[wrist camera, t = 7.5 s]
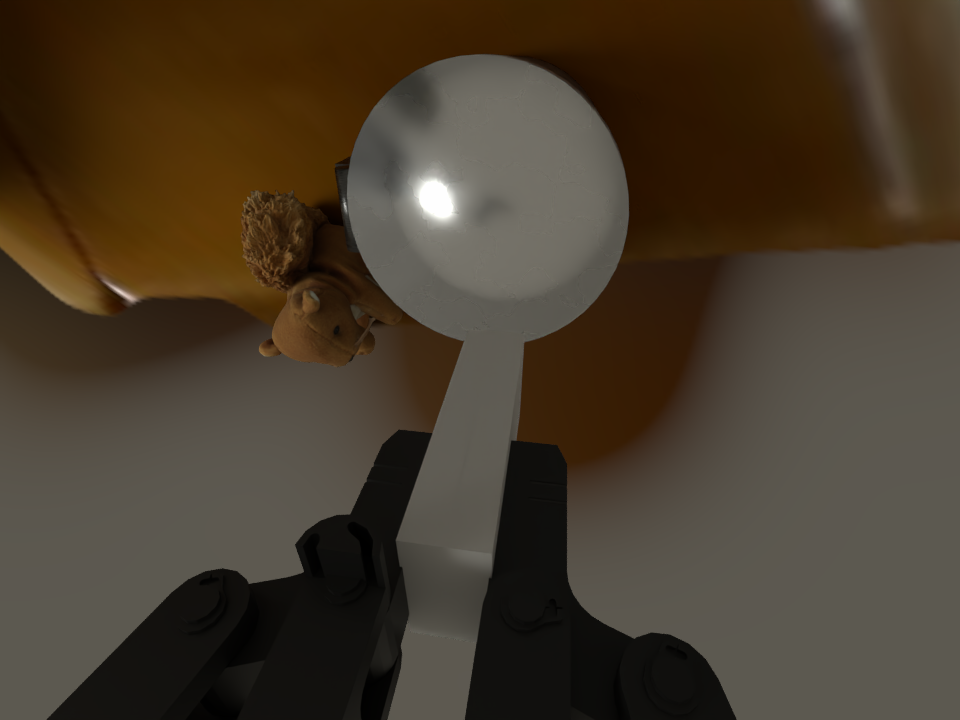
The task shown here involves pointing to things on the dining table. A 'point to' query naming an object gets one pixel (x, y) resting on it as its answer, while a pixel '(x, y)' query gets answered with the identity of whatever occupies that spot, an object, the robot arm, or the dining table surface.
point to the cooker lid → (486, 197)
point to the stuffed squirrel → (312, 282)
